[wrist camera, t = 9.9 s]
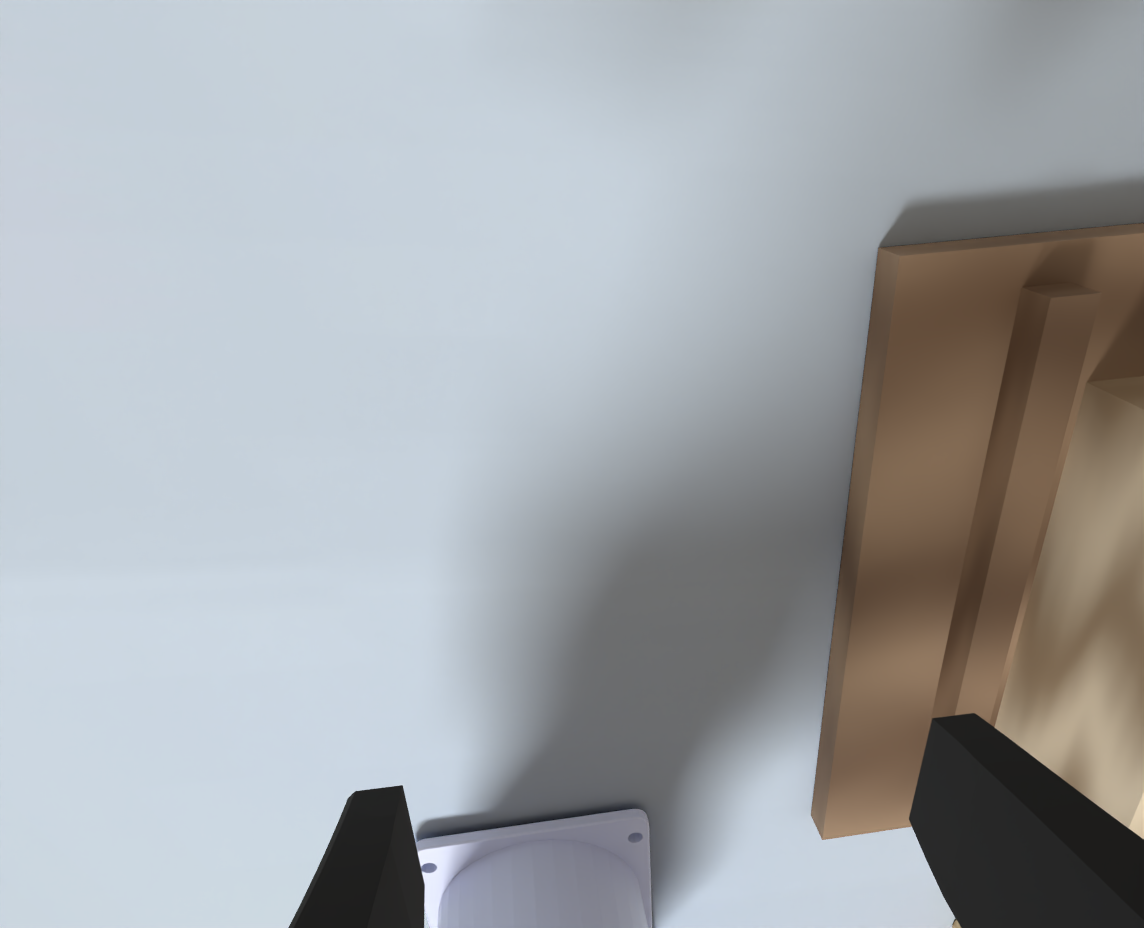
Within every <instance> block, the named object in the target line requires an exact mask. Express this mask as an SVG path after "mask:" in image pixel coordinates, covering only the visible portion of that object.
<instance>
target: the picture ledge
mask: <svg viewBox="0 0 1144 928" xmlns="http://www.w3.org/2000/svg"><path fill="white" fill-rule="evenodd" d="M1140 376H1144V223H1138V224H1127V225H1116V226H1106V227H1095V228H1084V229H1074V230H1063V231H1052V232H1041V233H1031V234H1020V235H1009V236H999V237H988V238H977V239H967V240H956V241H945V242H935V243H924V244H913V245H903V246H892V247H881V248H878V256H877V264H876V273H875V281H874V289H873V298H872V306H871V315H870V323H869V331H868V340H867V348H866V357H865V365H864V373H863V382H862V390H861V399H860V407H859V415H858V424H857V432H856V441H855V449H854V457H853V466H852V474H851V483H850V491H849V499H848V508H847V516H846V525H845V533H844V541H843V550H842V558H841V567H840V575H839V583H838V592H837V600H836V609H835V617H834V625H833V634H832V642H831V651H830V659H829V667H828V676H827V684H826V693H825V701H824V709H823V718H822V726H821V735H820V743H819V752H818V760H817V768H816V777H815V785H814V794H813V802H812V810H811V816H812V818H813V821H814V823H815V825H816V827H817V829H818V831H819V834H820V836H821V838H822V840H825V839H832V838H839V837H845V836H852V835H859V834H865V833H872V832H879V831H885V830H892V829H899V828H905V827H912V825H911V823H910V821H909V815H910V811H911V807H912V803H913V798H914V794H915V790H916V785H917V781H918V777H919V773H920V768H921V764H922V760H923V756H924V751H925V747H926V743H927V739H928V734H929V730H930V726H931V722H932V718H938V717H946V716H954V715H962V714H970V713H975V714H977V715H978V716H980V717H981V718H982V719H984V720H985V721H986V722H988V723H989V724H991V725H992V726H993V727H995V724H996V720H997V716H998V712H999V709H1000V705H1001V701H1002V697H1003V694H1004V690H1005V686H1006V682H1007V678H1008V675H1009V671H1010V667H1011V663H1012V660H1013V656H1014V652H1015V648H1016V645H1017V641H1018V637H1019V633H1020V630H1021V626H1022V622H1023V618H1024V615H1025V611H1026V607H1027V603H1028V600H1029V596H1030V592H1031V588H1032V585H1033V581H1034V577H1035V573H1036V569H1037V566H1038V562H1039V558H1040V554H1041V551H1042V547H1043V543H1044V539H1045V536H1046V532H1047V528H1048V524H1049V521H1050V517H1051V513H1052V509H1053V506H1054V502H1055V498H1056V494H1057V491H1058V487H1059V483H1060V479H1061V476H1062V472H1063V468H1064V464H1065V460H1066V457H1067V453H1068V449H1069V445H1070V442H1071V438H1072V434H1073V430H1074V427H1075V423H1076V419H1077V415H1078V412H1079V408H1080V404H1081V400H1082V397H1083V393H1084V389H1085V385H1086V382H1094V381H1103V380H1112V379H1121V378H1130V377H1140Z"/></svg>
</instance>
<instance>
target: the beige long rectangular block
mask: <svg viewBox="0 0 1144 928" xmlns="http://www.w3.org/2000/svg"><path fill="white" fill-rule="evenodd" d="M995 728H996V729H997V730H999V731H1000V732H1001V733H1003V734H1004V735H1005V736H1007V737H1008V738H1009V739H1011V740H1012V741H1013V742H1015V743H1016V744H1017V745H1018V746H1020V747H1021V748H1022V749H1024V750H1025V751H1026V752H1028V753H1029V754H1030V755H1032V756H1033V757H1034V758H1036V759H1037V760H1038V761H1040V762H1041V763H1042V764H1043V765H1045V766H1046V767H1047V768H1049V769H1050V770H1051V771H1053V772H1054V773H1055V774H1057V775H1058V776H1059V777H1061V778H1062V779H1063V780H1065V781H1066V782H1067V783H1069V784H1070V785H1071V786H1072V787H1074V788H1075V789H1076V790H1078V791H1079V792H1080V793H1082V794H1083V795H1084V796H1086V797H1087V798H1088V799H1090V800H1091V801H1092V802H1094V803H1095V804H1096V805H1098V806H1099V807H1100V808H1102V809H1103V810H1104V811H1106V812H1107V813H1108V814H1110V815H1111V816H1112V817H1114V818H1115V819H1117V820H1118V821H1119V822H1121V823H1122V824H1123V825H1125V826H1126V827H1127V828H1129V829H1130V830H1132V831H1133V832H1134V833H1136V834H1137V835H1138V836H1140V837H1141V838H1142V839H1144V376H1140V377H1130V378H1121V379H1112V380H1103V381H1094V382H1086V385H1085V389H1084V393H1083V397H1082V400H1081V404H1080V408H1079V412H1078V415H1077V419H1076V423H1075V427H1074V430H1073V434H1072V438H1071V442H1070V445H1069V449H1068V453H1067V457H1066V460H1065V464H1064V468H1063V472H1062V476H1061V479H1060V483H1059V487H1058V491H1057V494H1056V498H1055V502H1054V506H1053V509H1052V513H1051V517H1050V521H1049V524H1048V528H1047V532H1046V536H1045V539H1044V543H1043V547H1042V551H1041V554H1040V558H1039V562H1038V566H1037V569H1036V573H1035V577H1034V581H1033V585H1032V588H1031V592H1030V596H1029V600H1028V603H1027V607H1026V611H1025V615H1024V618H1023V622H1022V626H1021V630H1020V633H1019V637H1018V641H1017V645H1016V648H1015V652H1014V656H1013V660H1012V663H1011V667H1010V671H1009V675H1008V678H1007V682H1006V686H1005V690H1004V694H1003V697H1002V701H1001V705H1000V709H999V712H998V716H997V720H996V724H995Z"/></svg>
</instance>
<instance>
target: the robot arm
mask: <svg viewBox="0 0 1144 928" xmlns="http://www.w3.org/2000/svg"><path fill="white" fill-rule="evenodd" d="M909 821H910V823H911V825H912V828H913V830H914V832H915V834H916V837H917V839H918V841H919V844H920V846H921V848H922V851H923V853H924V855H925V858H926V860H927V862H928V864H929V866H930V869H931V871H932V873H933V875H934V877H935V879H936V881H937V884H938V886H939V888H940V890H941V892H942V894H943V896H944V898H945V900H946V902H947V904H948V905H949V907H950V909H951V911H952V912H953V914H954V916H955V918H956V919H957V921H958V923H959V925H960V926H961V928H1144V839H1142V838H1141V837H1140V836H1138V835H1137V834H1136V833H1134V832H1133V831H1132V830H1130V829H1129V828H1127V827H1126V826H1125V825H1123V824H1122V823H1121V822H1119V821H1118V820H1117V819H1115V818H1114V817H1112V816H1111V815H1110V814H1108V813H1107V812H1106V811H1104V810H1103V809H1102V808H1100V807H1099V806H1098V805H1096V804H1095V803H1094V802H1092V801H1091V800H1090V799H1088V798H1087V797H1086V796H1084V795H1083V794H1082V793H1080V792H1079V791H1078V790H1076V789H1075V788H1074V787H1072V786H1071V785H1070V784H1069V783H1067V782H1066V781H1065V780H1063V779H1062V778H1061V777H1059V776H1058V775H1057V774H1055V773H1054V772H1053V771H1051V770H1050V769H1049V768H1047V767H1046V766H1045V765H1043V764H1042V763H1041V762H1040V761H1038V760H1037V759H1036V758H1034V757H1033V756H1032V755H1030V754H1029V753H1028V752H1026V751H1025V750H1024V749H1022V748H1021V747H1020V746H1018V745H1017V744H1016V743H1015V742H1013V741H1012V740H1011V739H1009V738H1008V737H1007V736H1005V735H1004V734H1003V733H1001V732H1000V731H999V730H997V729H996V728H995V727H993V726H992V725H991V724H989V723H988V722H986V721H985V720H984V719H982V718H981V717H980V716H978V715H977V714H975V713H970V714H962V715H954V716H946V717H938V718H932V722H931V726H930V730H929V734H928V739H927V743H926V747H925V751H924V756H923V760H922V764H921V768H920V773H919V777H918V781H917V785H916V790H915V794H914V798H913V803H912V807H911V811H910V815H909ZM424 910H425V914H426V917H427V921H428V925H429V928H652V902H651V868H650V835H649V822H648V817H647V814H646V813H645V812H644V811H643V810H640V809H628V810H621V811H614V812H607V813H600V814H593V815H586V816H579V817H572V818H565V819H558V820H551V821H544V822H537V823H530V824H523V825H516V826H510V827H503V828H496V829H489V830H482V831H475V832H468V833H461V834H454V835H447V836H440V837H433V838H426V839H422V840H419V841H418V842H416V843H415V839H414V834H413V830H412V826H411V821H410V817H409V812H408V808H407V803H406V799H405V794H404V790H403V785H402V786H394V787H386V788H378V789H370V790H362V791H355V792H354V793H353V794H352V795H351V796H350V797H349V798H348V800H347V802H346V805H345V807H344V810H343V812H342V814H341V817H340V819H339V822H338V824H337V826H336V829H335V831H334V833H333V836H332V838H331V840H330V843H329V845H328V847H327V849H326V851H325V854H324V856H323V858H322V860H321V862H320V865H319V867H318V869H317V871H316V873H315V875H314V877H313V879H312V882H311V884H310V886H309V888H308V890H307V892H306V894H305V896H304V898H303V900H302V902H301V904H300V906H299V908H298V910H297V912H296V914H295V916H294V918H293V920H292V922H291V924H290V926H289V928H424Z"/></svg>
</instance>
